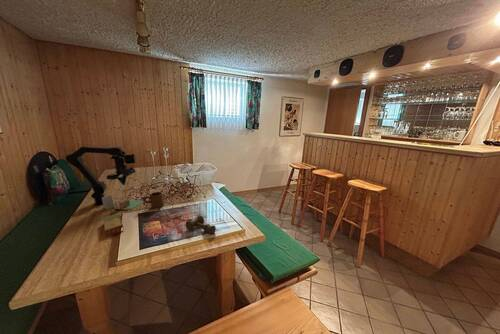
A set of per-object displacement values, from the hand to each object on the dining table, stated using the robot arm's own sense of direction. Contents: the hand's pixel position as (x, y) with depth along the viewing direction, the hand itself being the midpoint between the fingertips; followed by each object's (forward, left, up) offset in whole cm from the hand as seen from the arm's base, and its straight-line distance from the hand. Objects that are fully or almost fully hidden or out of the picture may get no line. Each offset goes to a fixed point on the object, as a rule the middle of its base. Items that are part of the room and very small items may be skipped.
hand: (123, 184), depth 142 cm
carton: (+25, -31, -13) cm, 41 cm away
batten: (+9, -13, -12) cm, 20 cm away
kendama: (+73, -18, -12) cm, 76 cm away
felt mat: (+9, -5, -12) cm, 16 cm away
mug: (+29, -4, -12) cm, 32 cm away
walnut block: (+9, -15, -9) cm, 19 cm away
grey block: (-1, -13, -12) cm, 18 cm away
